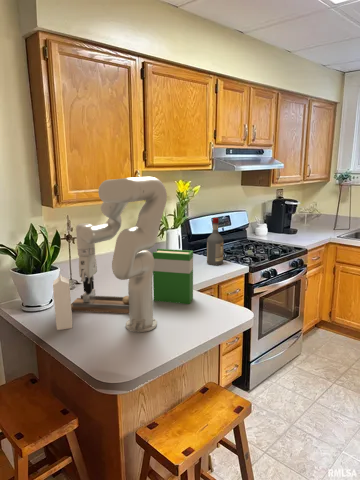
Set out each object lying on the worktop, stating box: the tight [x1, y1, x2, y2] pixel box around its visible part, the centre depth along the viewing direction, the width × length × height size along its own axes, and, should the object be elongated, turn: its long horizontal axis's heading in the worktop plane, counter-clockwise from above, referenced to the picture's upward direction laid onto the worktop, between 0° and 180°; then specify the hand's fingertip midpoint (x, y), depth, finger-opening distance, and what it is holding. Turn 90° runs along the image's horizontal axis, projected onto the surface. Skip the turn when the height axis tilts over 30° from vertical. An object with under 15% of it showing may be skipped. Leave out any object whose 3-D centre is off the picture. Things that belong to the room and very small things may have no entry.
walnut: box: [122, 295, 129, 305], centre depth 161 cm, size 4×4×4 cm
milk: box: [52, 273, 73, 331], centre depth 143 cm, size 6×6×22 cm
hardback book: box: [152, 248, 194, 305], centre depth 170 cm, size 18×7×24 cm, turn 76°
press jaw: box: [82, 278, 97, 303], centre depth 163 cm, size 7×3×12 cm, turn 173°
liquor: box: [206, 217, 225, 267], centre depth 229 cm, size 9×9×30 cm
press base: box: [71, 294, 129, 314], centre depth 162 cm, size 10×32×8 cm, turn 83°
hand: (88, 289), depth 163 cm, fingers closed on press jaw, 2 cm apart
